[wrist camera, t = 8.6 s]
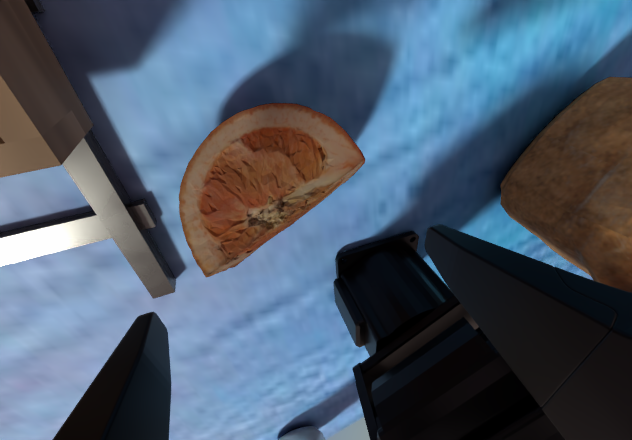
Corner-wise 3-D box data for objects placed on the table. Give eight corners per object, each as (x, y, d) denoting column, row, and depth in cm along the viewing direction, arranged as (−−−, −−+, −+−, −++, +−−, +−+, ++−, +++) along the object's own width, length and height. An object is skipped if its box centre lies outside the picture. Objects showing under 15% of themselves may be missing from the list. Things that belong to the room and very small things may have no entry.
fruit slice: (239, 245, 18) (252, 309, 14) (144, 169, 14) (125, 232, 10) (351, 162, 17) (395, 207, 14) (285, 55, 13) (323, 76, 9)
